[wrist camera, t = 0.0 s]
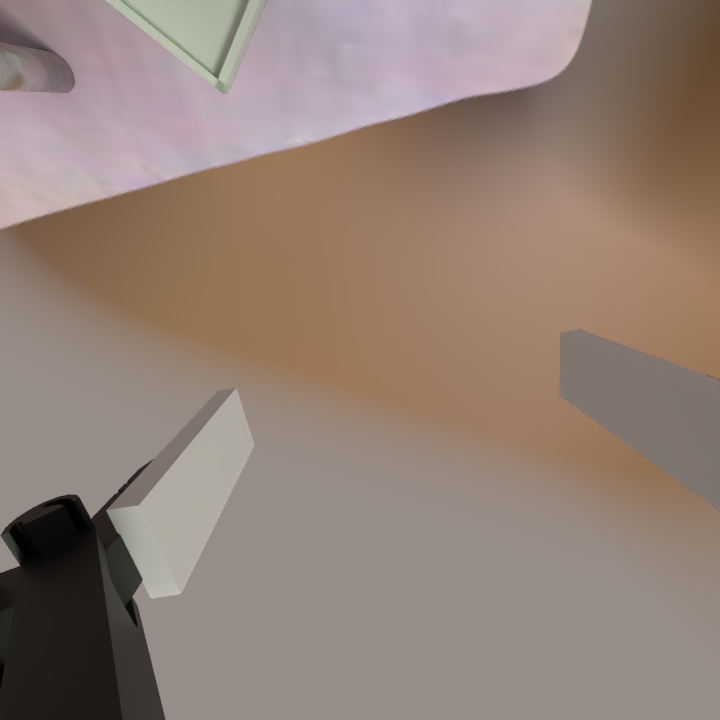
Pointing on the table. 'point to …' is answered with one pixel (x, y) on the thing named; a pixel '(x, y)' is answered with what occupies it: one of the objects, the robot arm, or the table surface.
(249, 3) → the tray
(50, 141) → the table surface
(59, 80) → the spacers
